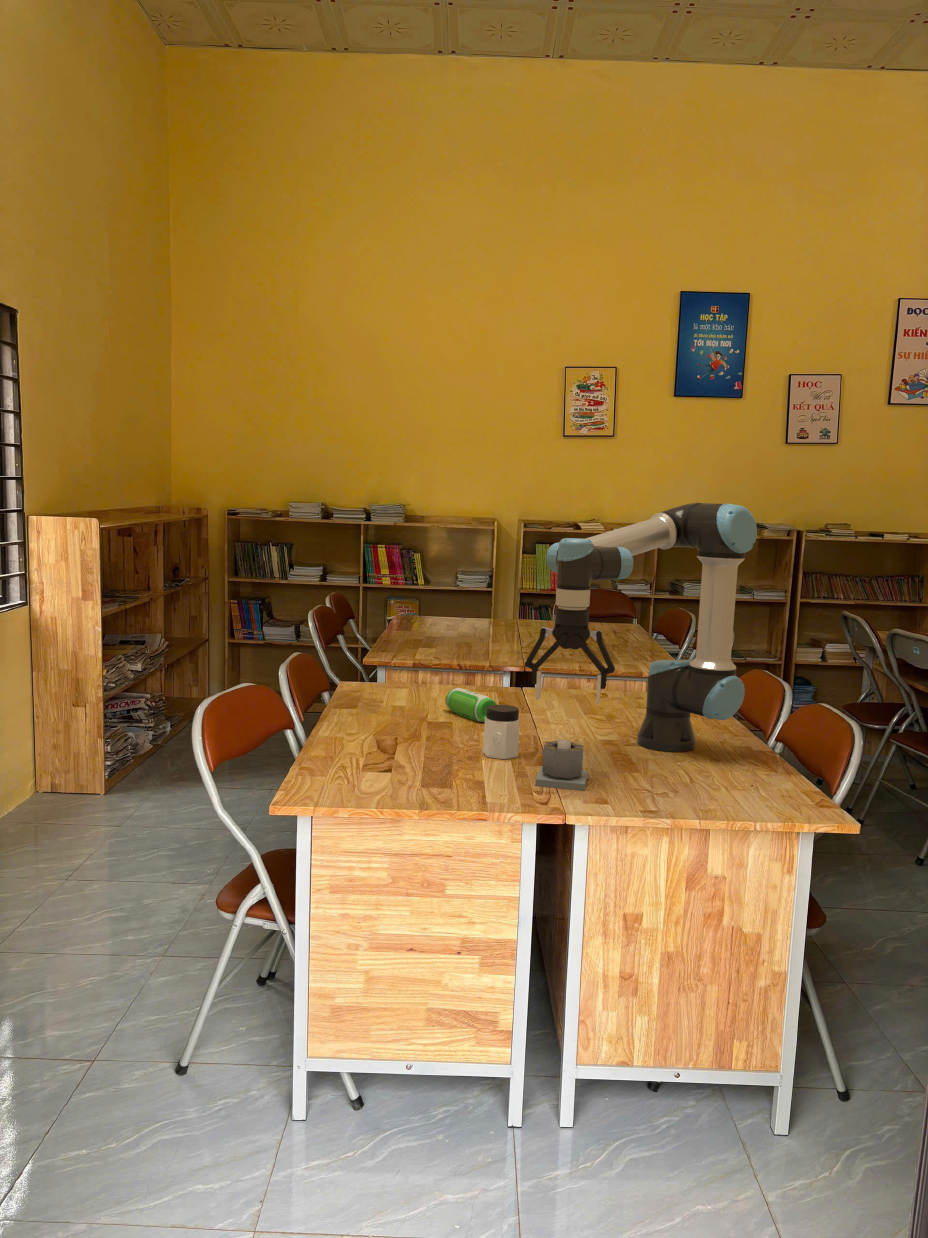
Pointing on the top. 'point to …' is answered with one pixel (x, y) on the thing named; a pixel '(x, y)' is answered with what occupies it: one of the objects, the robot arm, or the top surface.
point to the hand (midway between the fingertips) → (567, 700)
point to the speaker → (468, 703)
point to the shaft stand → (562, 782)
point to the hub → (562, 760)
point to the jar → (501, 732)
